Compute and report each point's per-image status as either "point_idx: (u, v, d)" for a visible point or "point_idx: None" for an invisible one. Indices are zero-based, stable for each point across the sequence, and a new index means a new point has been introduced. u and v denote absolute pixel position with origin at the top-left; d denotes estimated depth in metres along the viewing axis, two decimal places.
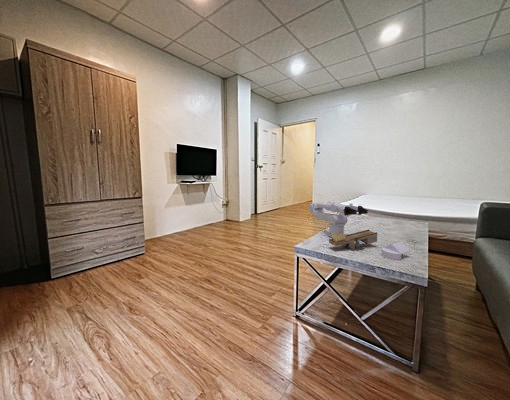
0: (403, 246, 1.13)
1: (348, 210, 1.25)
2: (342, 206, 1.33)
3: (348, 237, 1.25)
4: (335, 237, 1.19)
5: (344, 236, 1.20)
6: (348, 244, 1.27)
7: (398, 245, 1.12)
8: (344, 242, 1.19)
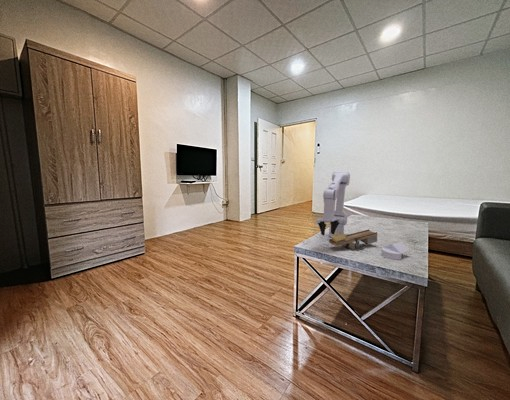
0: (403, 246, 1.13)
1: None
2: (327, 211, 1.14)
3: (348, 237, 1.25)
4: (335, 237, 1.19)
5: (344, 236, 1.20)
6: (348, 244, 1.27)
7: (398, 245, 1.12)
8: (344, 242, 1.19)
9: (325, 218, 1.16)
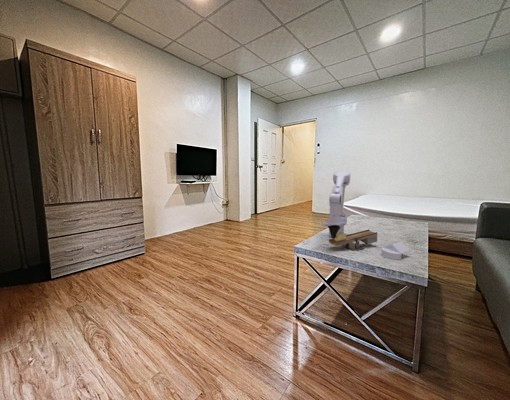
0: (403, 246, 1.13)
1: None
2: (333, 215, 1.16)
3: (348, 237, 1.25)
4: (335, 237, 1.19)
5: (344, 236, 1.20)
6: (348, 244, 1.27)
7: (398, 245, 1.12)
8: (344, 242, 1.19)
9: (331, 222, 1.17)
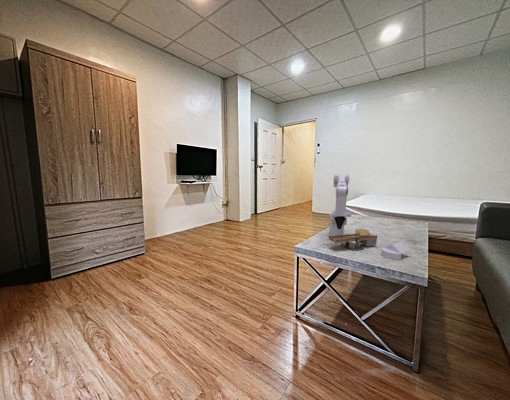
0: (403, 246, 1.13)
1: None
2: (339, 206, 1.22)
3: (348, 237, 1.25)
4: (359, 232, 1.24)
5: (367, 232, 1.24)
6: (348, 244, 1.27)
7: (398, 245, 1.12)
8: (344, 240, 1.19)
9: (337, 213, 1.23)
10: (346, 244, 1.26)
